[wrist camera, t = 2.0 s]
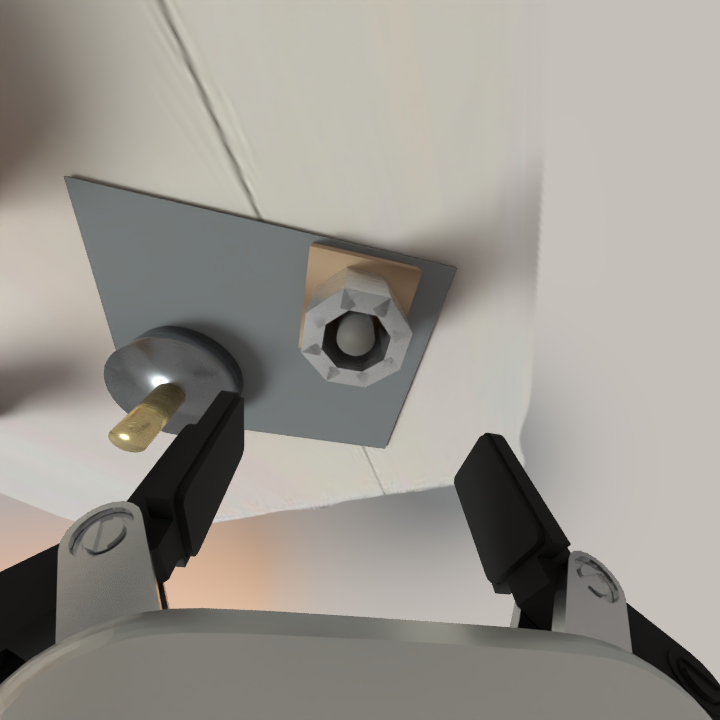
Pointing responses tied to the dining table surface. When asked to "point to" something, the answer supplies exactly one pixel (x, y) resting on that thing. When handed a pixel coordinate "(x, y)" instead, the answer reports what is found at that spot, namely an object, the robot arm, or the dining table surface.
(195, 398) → the hub
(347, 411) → the mat
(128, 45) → the dining table surface
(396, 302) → the collar
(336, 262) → the stand
